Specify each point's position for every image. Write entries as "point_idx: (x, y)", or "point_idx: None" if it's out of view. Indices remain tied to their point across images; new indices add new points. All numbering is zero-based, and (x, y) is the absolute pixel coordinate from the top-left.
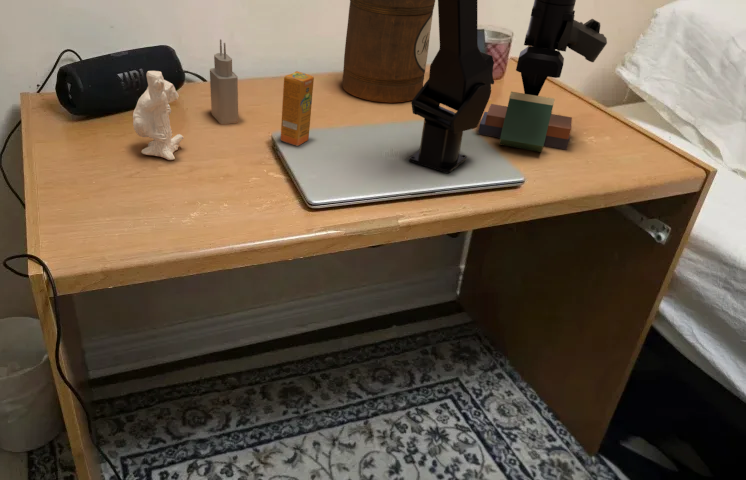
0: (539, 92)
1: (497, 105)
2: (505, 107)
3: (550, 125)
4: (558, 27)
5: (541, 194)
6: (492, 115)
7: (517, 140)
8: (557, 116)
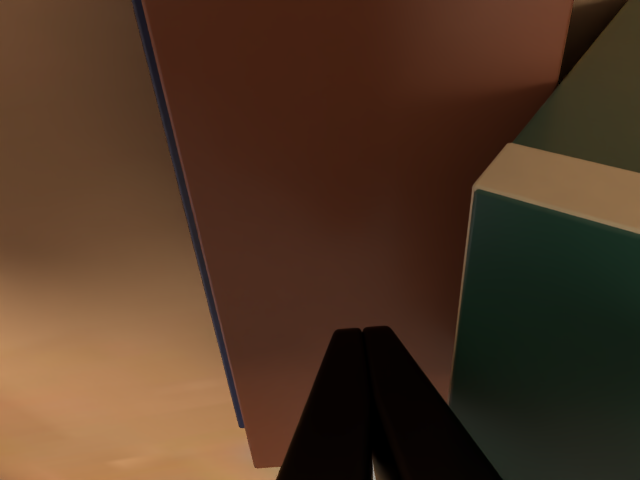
0: (477, 448)
1: (262, 442)
2: (272, 406)
3: (559, 50)
4: None
5: None
6: None
7: None
8: (210, 12)
